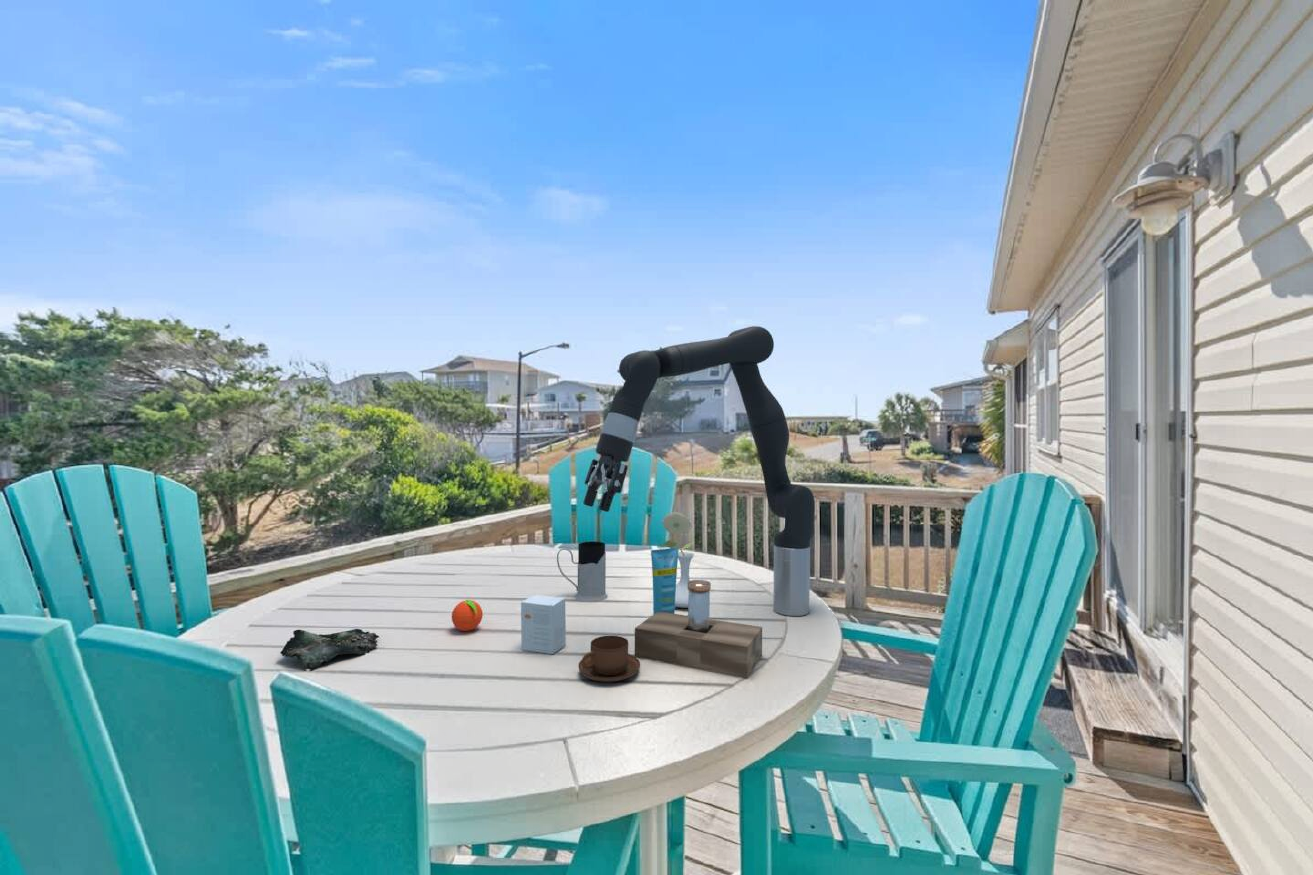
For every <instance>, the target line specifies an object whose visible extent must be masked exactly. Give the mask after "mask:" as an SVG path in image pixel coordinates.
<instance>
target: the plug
mask: <svg viewBox="0 0 1313 875" xmlns="http://www.w3.org/2000/svg"><path fill="white" fill-rule="evenodd" d="M688 590H689V596H688V608H687V610H688V611H687V612H688V615H687V616H688V631H694V632H701V633H707V632H708V631H709V619H710V595H711V594H710V591H711V581H709V580H705V579H704V580H703V579H692V580H690V581H689V582H688Z"/></svg>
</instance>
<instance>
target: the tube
mask: <svg viewBox="0 0 1313 875" xmlns="http://www.w3.org/2000/svg"><path fill="white" fill-rule="evenodd" d="M679 547H680V546H679ZM679 547H678V546H675V547H673V548H670V547H667V548H661V549H651V550H650V556H651V572H652V573H651V574H652V575H651V576H652V604H653V605H652V606H653V607H652V608H653V614H652V615H654V614H655V613H656V612H658V611H660V612H666V613H673V614H676V612H675V610H676V607H675V594H676V585H677V574H678V561H679V559H678V553H679V550H680V549H679Z"/></svg>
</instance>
